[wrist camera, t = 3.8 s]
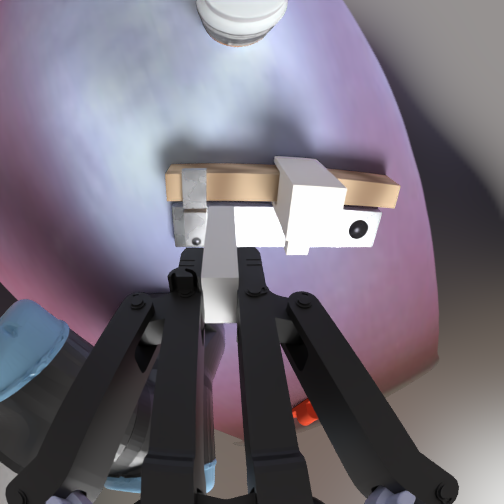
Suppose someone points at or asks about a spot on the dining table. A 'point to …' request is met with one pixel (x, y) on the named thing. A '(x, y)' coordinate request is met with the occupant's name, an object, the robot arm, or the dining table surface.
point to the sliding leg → (307, 203)
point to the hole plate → (269, 230)
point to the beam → (267, 182)
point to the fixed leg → (194, 204)
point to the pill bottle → (240, 19)
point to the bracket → (304, 412)
